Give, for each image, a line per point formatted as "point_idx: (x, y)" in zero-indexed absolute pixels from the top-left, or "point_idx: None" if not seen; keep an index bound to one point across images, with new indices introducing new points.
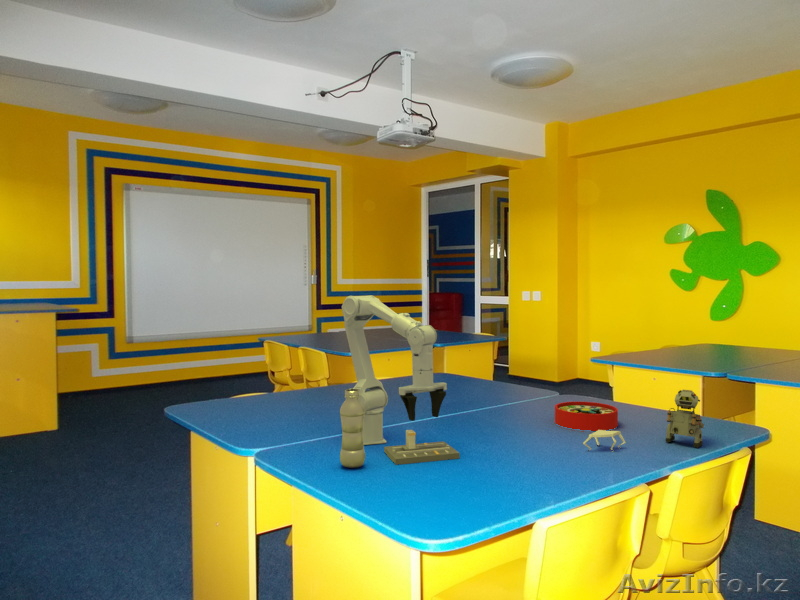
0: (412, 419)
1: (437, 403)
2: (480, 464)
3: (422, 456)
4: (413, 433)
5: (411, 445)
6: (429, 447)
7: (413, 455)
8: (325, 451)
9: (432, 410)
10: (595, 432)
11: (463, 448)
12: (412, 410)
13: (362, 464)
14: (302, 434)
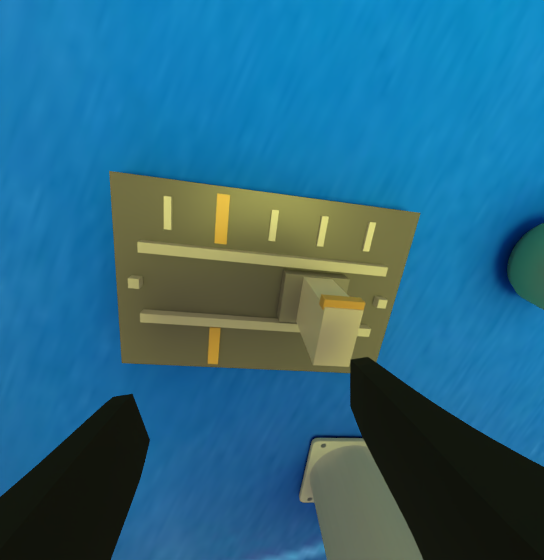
0: (375, 364)
1: (12, 555)
2: (44, 26)
3: (303, 197)
4: (338, 299)
5: (325, 283)
6: (217, 306)
7: (331, 229)
8: (502, 419)
9: (128, 490)
10: None
11: (54, 301)
12: (448, 417)
13: (530, 231)
14: None
